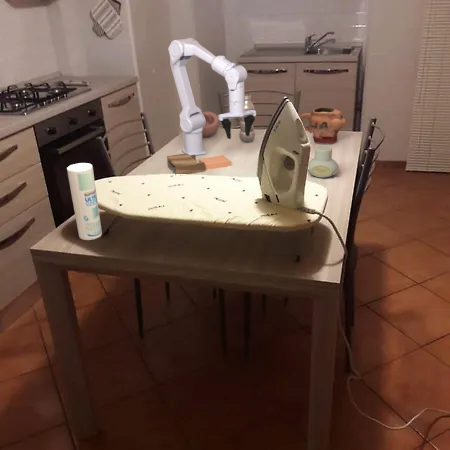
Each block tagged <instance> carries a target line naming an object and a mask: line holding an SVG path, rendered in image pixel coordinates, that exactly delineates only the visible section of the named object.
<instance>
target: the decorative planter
mask: <svg viewBox="0 0 450 450" xmlns="http://www.w3.org/2000/svg"><path fill="white" fill-rule="evenodd" d="M299 117H301V119H302V120H304V119H308V121H309V122H308V126H305V129H306V130H305V129H304V130H305V131H307V132H309V133H310V134H313V137H312V138H313V141H314V143H316V144H325V145H326V144H329V145H330V144H334V143H337V141H338V133H339V131H340V130H342V129H343V128H344V127H345V126H346V125H347V120H346V119H345V118H344V116H343V112H342V111H341V110H338V109H336V108H332V107H331V108H330V107H317V108H313V109H312V110H311V112H310V113H309V112H305V113H302V114H300V115H299Z"/></svg>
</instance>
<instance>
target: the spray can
mask: <svg viewBox="0 0 450 450" xmlns="http://www.w3.org/2000/svg"><path fill="white" fill-rule="evenodd" d="M66 171H67V177H68V182H69V183H68V184H69V187H70V193H71V194H70V195H71V200H72V204H73V210H74V215H75V221H76V222H75V223H76V226H77V232H78V237H79V239H81V240H85V241H90V240H96V239H98V238H100V237H101V236H102V235H103V230H102V225H101V217H100V210H99V202H98V196H97V190H96V181H95V175H94V167H93V164H91V163H90V162H89V163H88V162H87V163H86V162H79V163H75V164H74V163H73V164H70V165H69V166H68V167H66Z"/></svg>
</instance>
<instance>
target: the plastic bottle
mask: <svg viewBox="0 0 450 450" xmlns="http://www.w3.org/2000/svg"><path fill="white" fill-rule="evenodd" d="M244 94H245V111H247V110H255V105H254V103H253V102H252V101H251V100H252V94H248V93H244ZM239 119H240V127H239V129H240V130H239V134H238V135H239V140H240V141H241V142H244V143H250V142H253V141H254V140H255V137H256V134H255V130H254V129H255V128H254V123H253V124H252V127H251V130H250V134H249V136H246V135H245V121H244V117H241V118H239Z"/></svg>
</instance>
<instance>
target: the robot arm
mask: <svg viewBox="0 0 450 450" xmlns="http://www.w3.org/2000/svg"><path fill="white" fill-rule="evenodd" d="M167 49H168V53H169V54H168V55H169V62H170V63H169V64H170V65H169V66H170V68H171V73H172V75H173V76H172V77H173V80H174V82H175V87H176V90H177V94H178V97H179V102H180V104H181V109H182V110H181V111H180V112H179V126H180V129H181V131H182V132H183V133H182V145H183V146H182V147H183V148H181V149H180V150H181V151H182V152H183V154H185V153H188V154H189V155H196V156H198V155H199V156H200V155H206V154H207V153H208V152H207V151H205V150H204V144H203V143H204V142H203V141H204V140H203V136H202V130H203V127H204V126H205V123H206V120H205V117H204V116H203V114H202V112H203V111H202V109H201V108H200V107H198V106H197V105H196V102H195V97H194V94H193V90H192V86H191V83H190V79H189V76H188V75H189V74H188V71H187V68H186V65H187V63H188V61H189V60H190V59H191V58H192V57H193V56H195V57H197V58H198V59H200V60H202V61H204V62H206V63H207V64H209V65H210V66H211V67H210V68H211V70H213V71H214V72H215V73H217V74H219V75H220V76H221V77H224V79H225V82H226V83H227V87H228V100H229V102H228V105H229V112H226V113H221V114H218V115H217V116H218V119H219V122H220V123H221V125H222V126H223V128H224V131H225V135H226V138H227V139H228V140H231V138H232V134H231V133H232V132H231V130H232V129H231V127H232V121H230V120H234V119H240V118H241V117H244V121H245V135H246V136H249V134H250V130H251V127H252V124H253V125H254V122H255V119H256V118H255V117H256V116H257V111H256V110H255V109H254V110H247V111H245V94H246V93H245V81H246V79H247V78H248V72H247V69H246V68H245V67H244V66H243V65H236V63H235V62H231V61H230V60H228V59H227V58H226V56H224V55H217V56H216V55H215V54H214V53H213V52H211V51H209V50H208V49H207V48H205V46H203V45H201V44H200V43H199V41H198V40H195V39H194V38H192V37H187V38H182V39H175V40H172V41H171V42H170V44H169V46H168V48H167Z"/></svg>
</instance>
